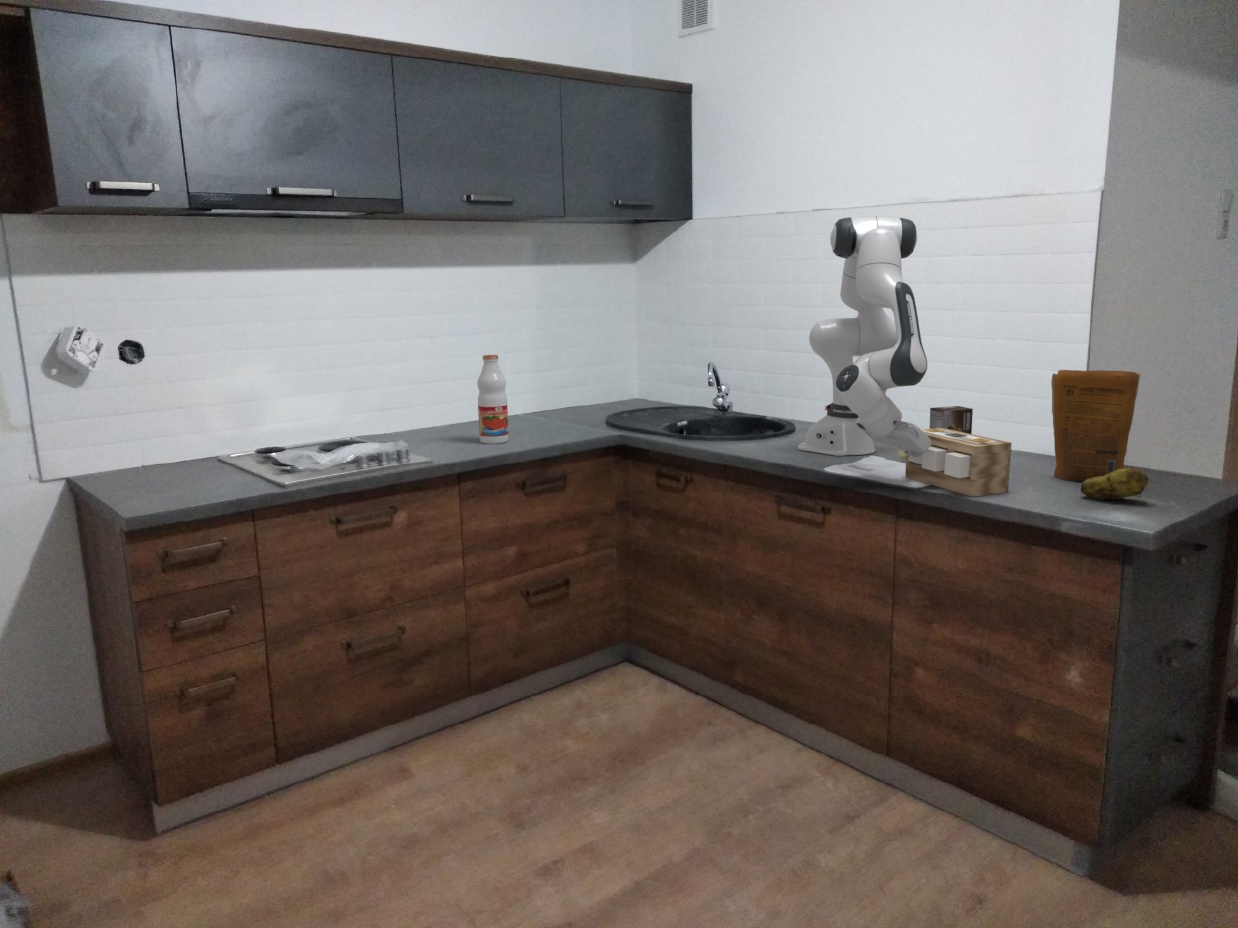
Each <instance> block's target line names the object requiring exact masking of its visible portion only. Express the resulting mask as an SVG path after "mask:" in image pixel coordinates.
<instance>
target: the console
mask: <svg viewBox="0 0 1238 928" xmlns="http://www.w3.org/2000/svg"><path fill="white" fill-rule="evenodd" d="M921 430H922V431H923V432H924V433H925V434H926V435H927V436H928V437H929V438H930V440H931V441H932V444H931V446H930V447H935V446H939V447H944V448H948V453H954V452H964V453H968V454H972V458H971V474H970V477H964V478H957V477H953V476H950V475H946V474H944V471H936V472H935V471H932V470H928V469H924V468H922V465H921V464H918V463H914V462H910V461H908V457H909V455H906V454H905V455H906V456H905V457H906V458H905V474H904V475H905V478H909V479H912V480H915V481H919V482H922V483H925V484H929V485H932V486H935V487H939V488H942V489H944V490H949V491H952V492H954V493H959V494H962V495H965V496H969V497H972V498H975V497H981V496H988V495H995V494H996V495H997V494H1002V493H1003V494H1004V493H1009V486H1010V472H1011V471H1010V469H1011V456H1012V445H1013V444H1012V442H1010V441H1004V440H1000V439H996V438H991V437H987V436H981V435H977V434H973V433H972V434H968V433H964V432H959V431H954V430H950V429H945V428H933V429H930V428H925V429H921Z"/></svg>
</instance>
